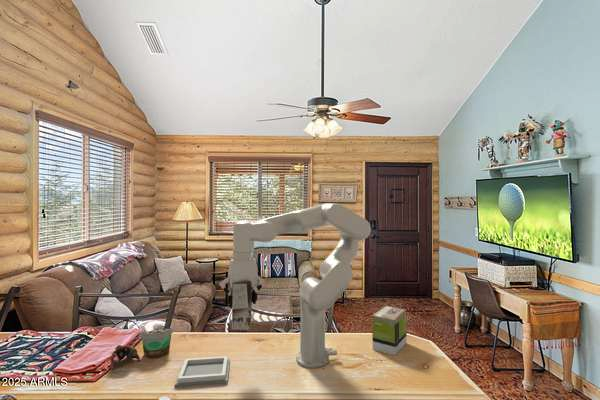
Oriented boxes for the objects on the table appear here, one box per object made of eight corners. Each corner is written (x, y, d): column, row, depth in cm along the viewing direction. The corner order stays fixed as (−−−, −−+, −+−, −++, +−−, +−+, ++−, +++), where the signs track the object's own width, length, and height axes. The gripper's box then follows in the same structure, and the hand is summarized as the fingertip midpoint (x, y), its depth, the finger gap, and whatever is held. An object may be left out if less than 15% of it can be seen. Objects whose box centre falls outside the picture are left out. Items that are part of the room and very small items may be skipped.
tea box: (384, 337, 146) (385, 304, 146) (407, 343, 140) (407, 309, 140) (371, 349, 134) (371, 314, 134) (395, 356, 128) (395, 319, 128)
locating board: (229, 361, 123) (229, 354, 123) (227, 383, 108) (227, 376, 108) (183, 364, 121) (183, 358, 121) (174, 387, 106) (174, 380, 106)
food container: (140, 363, 121) (140, 336, 122) (139, 356, 127) (139, 330, 127) (174, 356, 127) (175, 330, 127) (173, 349, 133) (173, 325, 133)
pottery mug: (146, 363, 122) (139, 350, 118) (122, 384, 116) (114, 370, 112) (130, 347, 129) (123, 334, 124) (106, 366, 122) (98, 352, 118)
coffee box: (249, 329, 112) (250, 283, 112) (231, 330, 112) (232, 283, 112) (252, 320, 121) (253, 277, 121) (234, 320, 121) (235, 277, 121)
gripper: (263, 253, 124) (262, 298, 124) (217, 255, 117) (216, 303, 116) (269, 256, 117) (268, 304, 117) (221, 258, 110) (219, 310, 110)
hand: (242, 304), depth 117 cm, fingers closed on coffee box, 8 cm apart
